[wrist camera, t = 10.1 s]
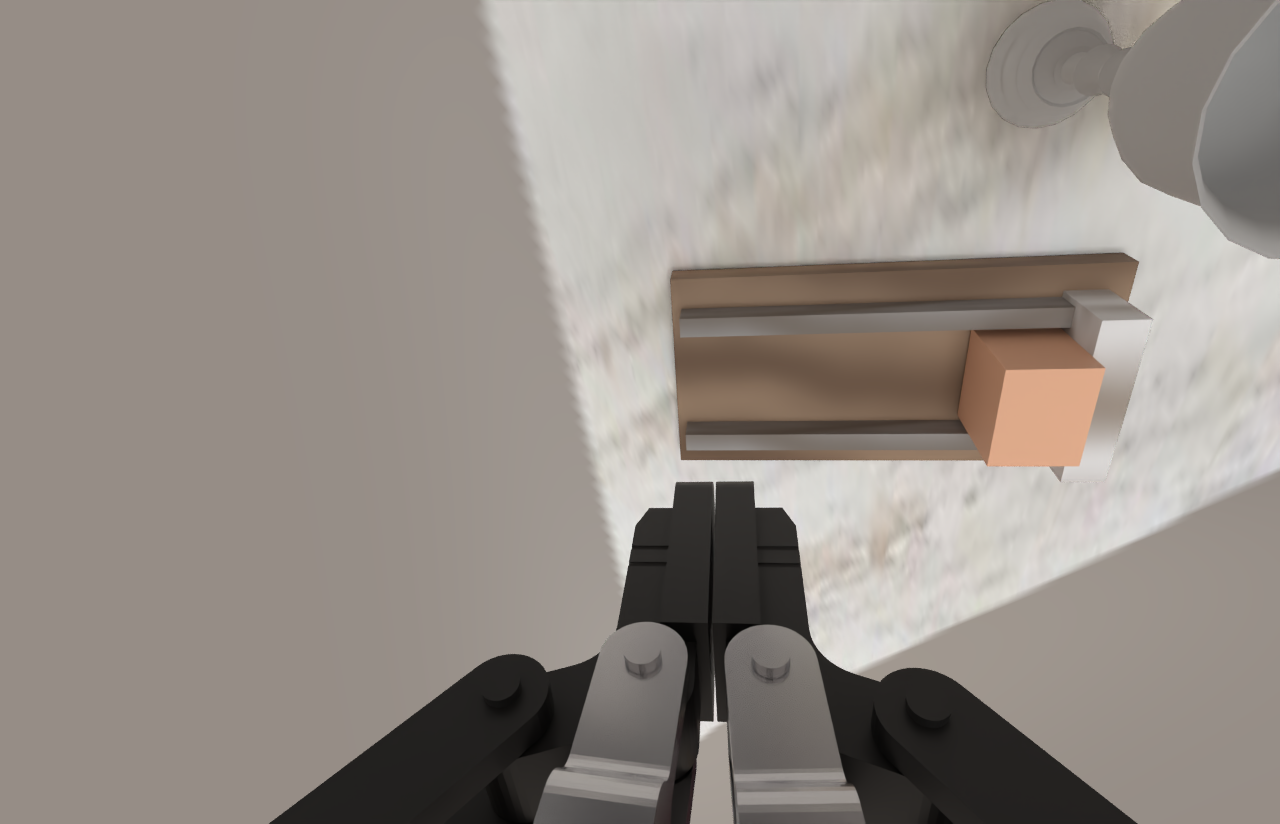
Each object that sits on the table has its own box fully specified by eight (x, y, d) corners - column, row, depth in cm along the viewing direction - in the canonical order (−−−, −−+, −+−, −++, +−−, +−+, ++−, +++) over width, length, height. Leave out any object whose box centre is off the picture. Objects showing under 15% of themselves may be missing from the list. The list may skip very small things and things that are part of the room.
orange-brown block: (971, 327, 34) (1005, 370, 30) (1057, 325, 33) (1105, 368, 29) (957, 414, 36) (987, 466, 32) (1037, 414, 36) (1079, 466, 31)
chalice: (1003, 183, 32) (1254, 320, 17) (931, 58, 30) (1140, 79, 14) (1168, 74, 29) (1661, 114, 14) (1101, -73, 27) (1591, -223, 12)
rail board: (672, 270, 36) (662, 306, 31) (1123, 252, 33) (1188, 289, 28) (682, 446, 41) (675, 499, 37) (1072, 446, 38) (1120, 504, 33)
